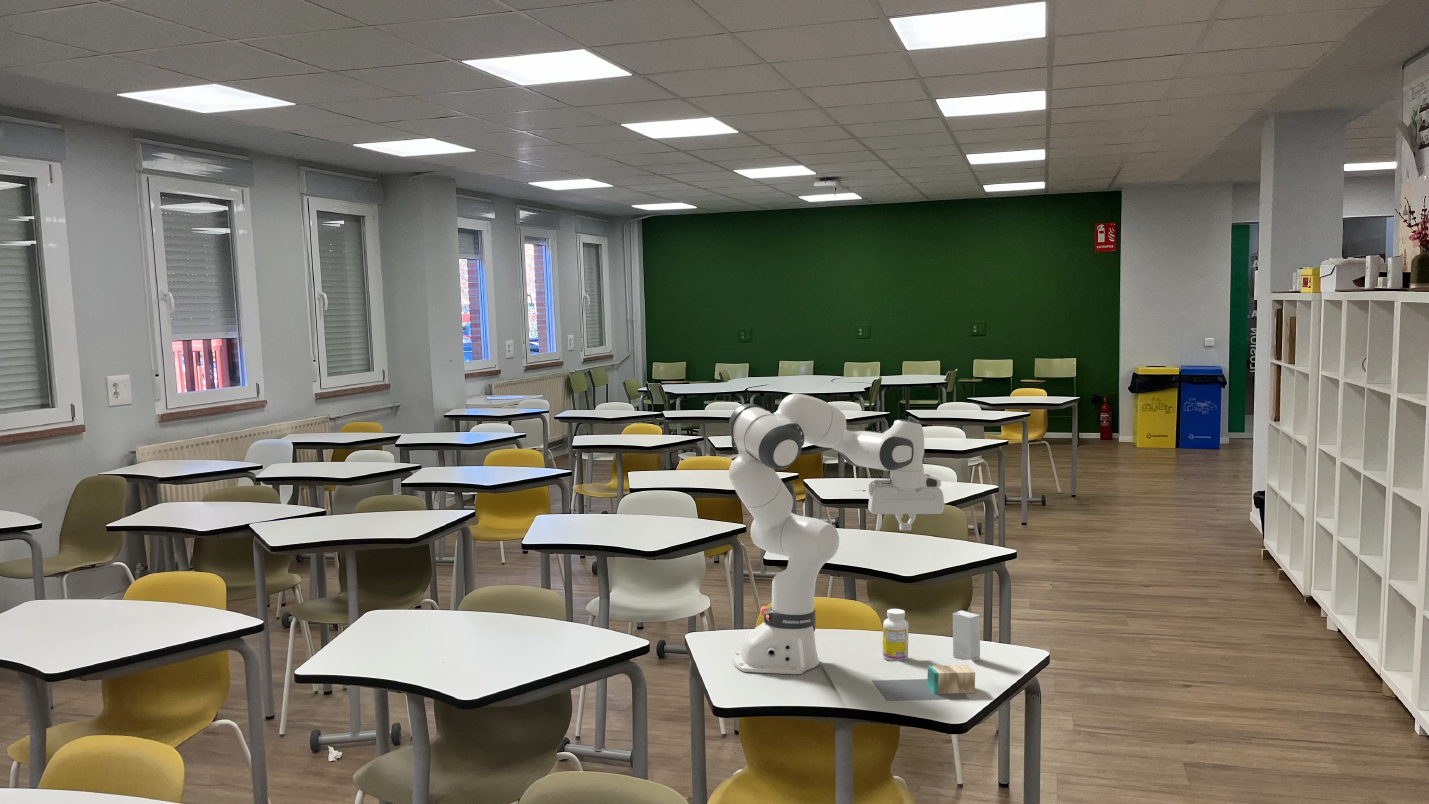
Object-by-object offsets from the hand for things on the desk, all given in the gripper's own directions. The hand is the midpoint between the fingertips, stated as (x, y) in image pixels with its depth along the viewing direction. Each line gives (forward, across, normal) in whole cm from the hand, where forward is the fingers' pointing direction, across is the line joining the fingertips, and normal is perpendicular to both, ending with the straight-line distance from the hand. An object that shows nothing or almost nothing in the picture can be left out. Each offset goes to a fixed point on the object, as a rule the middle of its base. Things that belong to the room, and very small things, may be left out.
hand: (905, 530), depth 262 cm
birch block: (+30, -2, -32) cm, 44 cm away
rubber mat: (+33, -5, -31) cm, 46 cm away
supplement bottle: (+33, -4, -7) cm, 34 cm away
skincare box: (+33, +15, -8) cm, 37 cm away
